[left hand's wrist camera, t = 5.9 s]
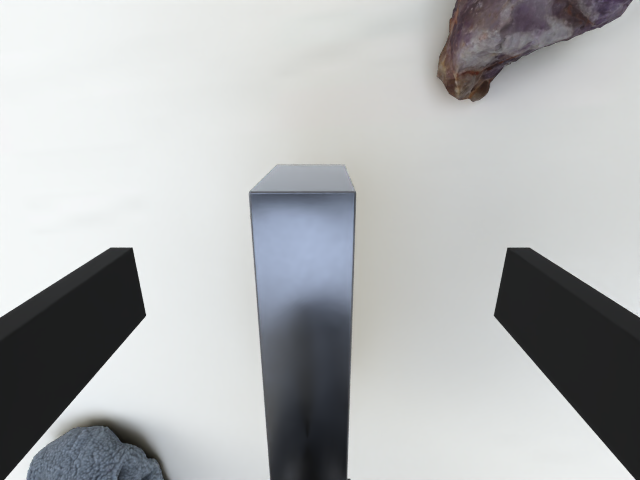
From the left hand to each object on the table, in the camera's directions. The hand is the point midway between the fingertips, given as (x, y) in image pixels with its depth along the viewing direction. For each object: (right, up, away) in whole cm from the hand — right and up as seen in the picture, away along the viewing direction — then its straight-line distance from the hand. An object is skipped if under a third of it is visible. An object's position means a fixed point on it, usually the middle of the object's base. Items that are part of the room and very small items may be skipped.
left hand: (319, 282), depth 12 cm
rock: (+14, +19, +16) cm, 29 cm away
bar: (0, -6, +14) cm, 16 cm away
